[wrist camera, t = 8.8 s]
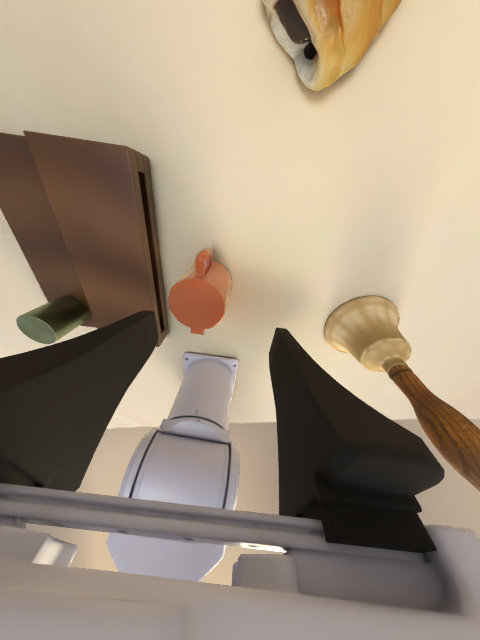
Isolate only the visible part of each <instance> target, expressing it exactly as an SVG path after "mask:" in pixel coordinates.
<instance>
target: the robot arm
mask: <svg viewBox="0 0 480 640" xmlns="http://www.w3.org/2000/svg"><path fill="white" fill-rule="evenodd" d="M158 340H159V336H158V330H157V323H156V317H155V311H147V310H143V311H140V312H137V313H135V314H133V315H130V316H128V317H126V318H123V319H121V320H119V321H116V322H114V323H112V324H109V325H107V326H104V327H102V328H99V329H97V330H94V331H92V332H89V333H87V334H84V335H81V336H78V337H76V338H73V339H70V340H67V341H63V342H60V343H57V344H54V345H50V346H47V347H43V348H39V349H36V350H32V351H28V352H25V353H21V354H17V355H12V356H8V357H4V358H0V640H480V540H479V538H478V537H477V535H476V534H475V532H473V531H472V530H470V529H468V528H460V527H451V526H442V525H423V523H422V521H421V520H420V518H419V516H418V514H417V512H418V513H419V512H421V511H422V509H421V506H420V505H419V503H418V501H417V499H416V498H415V496H414V495H416V494H419V493H420V492H423V491H425V490H427V489H429V488H431V487H433V486H435V485H437V484H438V483H440V482H441V481H442V480H443V478H444V469H443V468H442V466H441V465H440V463H439V462H438V461H437V459H436V458H435V457H434V455H433V454H432V452H431V451H430V450H429V448H428V447H427V446H426V445H425V443H424V442H423V440H422V439H421V438H420V437H418V436H417V435H415V434H413V433H412V432H410V431H408V430H407V429H405V428H403V427H402V426H400V425H399V424H397V423H395V422H394V421H392V420H390V419H389V418H387V417H385V416H384V415H382V414H381V413H379V412H378V411H376V410H375V409H373V408H372V407H370V406H369V405H367V404H366V403H365V402H363V401H362V400H360V399H359V398H357V397H356V396H355V395H353V394H352V393H351V392H350V391H348V390H347V389H346V388H344V387H343V386H342V385H341V384H339V383H338V382H337V381H336V380H335V379H333V378H332V377H331V376H330V375H329V374H328V373H327V372H325V371H324V370H323V369H322V368H321V367H320V366H319V365H318V364H317V363H316V362H315V361H314V360H313V359H312V358H311V357H310V356H309V355H308V354H307V352H306V351H305V350H304V349H303V348H302V347H301V346H300V344H299V343H298V342H297V341H296V340H295V338H294V337H293V336H292V335H291V334H290V332H289V331H288V330H287V329H283V328H276V330H275V334H274V337H273V341H272V345H271V348H270V352H269V368H270V375H271V381H272V387H273V394H274V400H275V407H276V418H277V436H278V461H279V515H273V514H264V513H255V512H247V511H237V510H235V506H236V501H237V494H238V486H239V475H240V455H239V450H238V449H237V447H236V444H235V443H234V442H230V441H229V439H230V431H228V430H227V429H228V420H229V411H230V402H231V400H232V398H233V392H234V386H235V380H236V374H237V368H238V360H237V359H232V358H225V357H217V356H210V355H202V354H194V353H184V355H183V358H184V374H185V377H184V379H183V382H182V384H181V387H180V389H179V392H178V394H177V396H176V399H175V401H174V404H173V406H172V409H171V411H170V414H169V416H168V419H163V421H162V424H161V426H160V428H159V429H157V428H153V429H152V430H151V431H150V432H148V433H147V434H146V435H144V437H143V438H142V439H141V441H140V442H139V444H138V446H137V447H136V449H135V451H134V453H133V455H132V458H131V460H130V462H129V464H128V467H127V469H126V472H125V475H124V477H123V480H122V484H121V487H120V491H119V496H118V497H116V496H108V495H99V494H91V493H82V492H75V491H76V490H77V489H78V488H79V487H80V485H81V482H82V480H83V478H84V475H85V473H86V471H87V468H88V466H89V464H90V462H91V459H92V457H93V455H94V452H95V450H96V448H97V446H98V444H99V442H100V440H101V438H102V436H103V434H104V432H105V430H106V428H107V426H108V424H109V422H110V420H111V418H112V416H113V414H114V412H115V410H116V408H117V407H118V405H119V403H120V401H121V399H122V398H123V396H124V394H125V392H126V391H127V389H128V387H129V386H130V384H131V383H132V382H133V380H134V379H135V377H136V376H137V374H138V373H139V371H140V370H141V369H142V367H143V366H144V364H145V363H146V361H147V360H148V358H149V357H150V355H151V354H152V352H153V350H154V348H155V346H156V344H157V342H158ZM187 358H188V359H187ZM234 364H235V365H234ZM25 523H30V524H39V525H48V526H57V527H66V528H75V529H83V530H92V531H102V532H110V535H109V537H108V540H107V545H108V549H109V551H110V554H111V556H112V558H113V560H114V563H115V565H116V567H117V569H118V571H119V572H113V571H103V570H93V569H85V568H76V567H69V566H70V564H71V562H72V560H73V558H74V556H75V554H76V552H77V550H78V546H77V545H75V544H71V543H68V542H64V541H62V540H59V539H57V538H54V537H52V536H51V535H49V534H48V533H43V532H37V531H32V530H27V529H26V525H25ZM226 546H235V547H245V548H254V549H262V550H271V551H280V552H285V553H284V554H283V555H277V554H241V555H240V556H239V558H238V562H235V563H234V565H233V574H232V586H228V585H220V584H212V583H204V582H199V581H200V580H201V579H202V578H204V577H205V575H207V574H208V573H209V572H210V571H211V570H212V569H213V568H214V567H215V566H216V565H217V564H218V563H219V562H220V561H221V560H222V558H223V556H224V549H225V548H226Z"/></svg>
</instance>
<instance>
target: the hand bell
mask: <svg viewBox="0 0 480 640" xmlns="http://www.w3.org/2000/svg"><path fill="white" fill-rule="evenodd" d="M398 324H399V313H398V310H397V307H396V306H395V305H394V303H393V302H391V301H390V300H388V299H386V298H383V297H379V296H365V297H360V298H357V299H353V300H351V301H349V302H347V303H345V304H343V305H342V306H340V307H339V308H338V309H336V310H335V311H334V312H333V313H332V315H331V316H330V317H329V318H328V320H327V322H326V324H325V328H324V336H325V339H326V341H327V343H328V344H329V345H330V346H331V347H333V348H334V349H336V350H338V351H340V352H344V353H350V354H351V355H353V356H354V357H355V358H356V359H357V360H358V361H359V362H360V363H361V364H362V366H363V367H365V368H366V369H368V370H371V371H376V372H384V371H386V373H387V374H388V375H389V377H390V378H391V380H393V381H394V383H395V384H396V385H397V386H398V387H399V388H400V390H401V391H402V392H403V393H404V394H405V395H406V397H407V398H408V399H409V401H410V402H411V404H412V406H413V408H414V411H415V413H416V416H417V418H418V421H419V423H420V424H421V426H422V428H423V430H424V431H425V433H426V434H427V436H428V438H429V439H430V440H431V442H432V443H433V445H434V446H435V447H436V449H437V450H438V451H439V453H440V454H441V455H442V456H443V457H444V458H445V459H446V460H447V462H448V463H449V464H450V465H451V466H453V468H454V469H455V470H456V471H457V472H458V473H459V474H460V475H462V477H464V478H465V479H466V480H468V481H469V482H470V483H471V484H472V485H473V486H474V487H476V488H477V489H478V490H479V491H480V429H479V428H478V427H476V426H475V425H474V424H473V423H472V422H471V421H470V420H469V419H467V418H466V417H465V416H464V415H462V414H461V413H460V412H459V411H457V410H456V409H454V408H453V407H452V406H450V405H449V404H447V403H445V402H444V401H442V400H441V399H439V398H438V397H436V396H435V395H434V394H433V393H432V392H430V391H429V390H428V389H427V387H426V386H425V385H424V384H423V383H422V382H421V381H420V379H419V378H418V377H417V376H416V375H415V374H414V373H413V371H412V370H411V369H410V368H409V367H408V365H407V364H406V363H405V362H406V361H407V360H408V359H409V357H410V355H411V346H410V344H409V343H408V342H407V340H406V339H405V338H404V337H403V336H402V334H401V333H400V332H399V330H398V328H397V327H398Z"/></svg>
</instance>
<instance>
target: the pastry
mask: <svg viewBox="0 0 480 640" xmlns="http://www.w3.org/2000/svg"><path fill="white" fill-rule="evenodd" d="M262 2H263V4H264V5H265V7H266V13H267V17H268V19H269V22H270V26H271V29H272V31H273V33H274V35H275V37H276V39H277V41H278V43H279V44H280V45H281V46H282V47H283V48H284V50H285V51H286V53H287V54H289V55H290V56H291V57H292V58H293V59H294V61H295V65H296V70H297V73H298V75H299V77H300V79H301V80H302V82H303V83H304V85H305V86H306V87H307V88H310V89H312V90H315V91H318V90H321V89H324V88H326V87H328V86H330V85H331V84H333V83H334V82H335V81H336V80H338V79H339V78H340V77H341V76H343V75H344V74H346V73H347V72H348V71H350V70H351V69H353V68H354V67H355V66H356V65H357V64H358V63H359V61H360V60H361V59H362V58H363V56H364V54H365V52H366V51H367V49H368V48H369V46H370V44H371V42H372V41H373V40H374V38H375V37H376V36H377V35H378V33H379V32H380V30H381V28H382V27H383V25H384V24H385V23H386V21H387V20H388V19H389V18H390V16H391V15H392V14H393V12H394V11H395V10H396V8H397V7H398V5H399V4H400V2H401V0H262Z"/></svg>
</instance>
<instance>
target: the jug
mask: <svg viewBox="0 0 480 640" xmlns="http://www.w3.org/2000/svg"><path fill="white" fill-rule="evenodd" d="M231 287H232V279H231V275H230V273H229V271H228V270H227V269H226V267H225V266H223V265H222V264H221V263H219V262H217V261H213V251H212V249H211V248H210V247H206V248H205V249H203V250H202V251H201V252H200V253H199V254H197V256H196V260H195V265H194V266H193V267H192V268H191V269H190V270H189V271H188V272H187V273H186V274H185V275H184V276H183V277H182V278H181V279H180V280H179V281H178V282H177V283H176V284H175V285H174V286H173V287H172V289H171V291H170V293H169V298H168V302H169V307H170V310H171V312H172V314H173V315H174V316H175V318H176V319H177V320H178V321H179V322H181V323H182V324H184V325H186V326H188V327H190V328H191V333H195V334H202V335H203V334H204V332H205V329H209V328H212V327H214V326H215V325H217V324H218V323H219V322H220V321H221V320H222V318H223V316H224V314H225V310H226V306H227V302H228V299H229V295H230V291H231Z"/></svg>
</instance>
